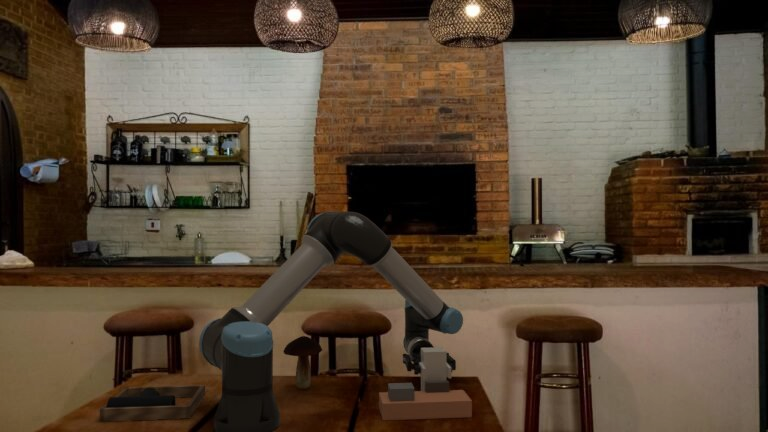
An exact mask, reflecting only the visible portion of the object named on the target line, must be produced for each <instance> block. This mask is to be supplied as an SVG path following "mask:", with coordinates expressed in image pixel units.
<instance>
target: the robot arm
mask: <svg viewBox="0 0 768 432" xmlns="http://www.w3.org/2000/svg"><path fill="white" fill-rule="evenodd" d="M306 230H307V231H306V233H304V235H303V236H302V238H301V245H300V246H299V247H298V248H297V249H296V250H295V251H294V252H293V253H292V254H291V255H290V256H289V258H288V259H286V261H284V262H283V264H282V265H281V266H279V268H278V269H276V270H275V271H274V273H273V274H272V275H271V276H270V277H269V278H268V279H267V280H266V281H265V282H264V283H262V285H261V286H260V287H259V288H258V289H257V290H256V291H255V292H254V293H253V294H252V295H251V296H250V297H249V298H248V299H247V300H246V301H245V302H244V303H243V304H242V305H240V306H233V307H231V308H230V309H229V310H228V311H227V312H226V313H225V314H224V315H223V316H222V317H221V318H216V319H214V320H211V321H210V322H208V323H207V324H206V325H205V327H204V328H203V329H202V331H201V333H200V335H199V341H198V345H199V350H200V351H199V352H200V354H201V355H202V357H203V358H204V360H205V361H206V362H207V363H208V364H210V365H211V366H213V367H215V368H217V369H219V370H220V371H221V396H220V398H219V402H218V405H217V409H216V411H215V415H214V419H213V429H214V432H272V431H274V430H276V429H277V428H278V427H279V426H280V425H281V411H280V410H279V405H278V404H277V400H276V397H275V394H274V390H273V384H274V383H273V382H274V379H273V377H274V375H273V373H274V371H273V369H274V362H273V361H274V359H273V358H274V338H273V331H272V329H271V328H270V327H269V326H270V325H271V323H273V321H274V320H275V319H276V318H277V317H278V316H279V315H280V314H281V313H282V311H283V310H284V309H285V308H286V307H287V306H288V305H289V304H290V303H291V302H292V301H293V300H294V299H295V298H296V297H297V296H298V294H299V293H300V292H301V291H303V289H304V288H305V287H307V285H308V284H309V283H310V282H311V281H312V279H314V278H315V277H316V275H317V274H318V273H320V271H321V270H322V269H323V268H324V267H326V266H328V267H329V266H333V265H334V264H335V263H336V262H337V261H338V259H340V257H342V255H344V254H345V255H351V256H353V257H355V258H357V259H359V260H360V261H362V263H364V264H365V266H368V267H371V266H372V267H373V268H374V269H375V270H376V272H378V273H379V274H380V275H381V277H382V278H384V279H385V280H386V281H387V282H388V283H389V284H390V285H391V287H392V288H394V289H395V291H396V292H398V293H399V294H400V295H401V297H403V299H405V301H404V309H403V310H404V325H405V326H404V327H405V328H404V337H403V340H402V341H403V348H404V351H405V352H406V353H403V354H402V363H403V364H404V365H405V367H406V370H407V372H412V371H413V372H414V373H413V374H414V375H416V376H417V375H420V378H421V377H422V378H423V379H426V368H425V367H424V365H423V364H422V362H421V348H434V345H433V344H432V343H431V341H429V339H430V333H429V331H430V330H431V331H434V332H439V333H442V334H448V335H449V334H450V335H455V334H458V333H459V331H460V330H461V329H462V327H463V324H464V316H463V314H462V312H461V311H460V310H458V309H456V308H454V307H449V306H448V304H447V303H445V302H444V301H443V299H441V297H440V296H439V295H438V294H437V293H436V292H435V291H434V290H433V289H432V288H431V287H430V285H428V284H427V282H425V280H423V278H422V277H421V276H420V275H419V274H418V273H417V272H416V271H415V270H414V268H412V267H411V266H410V264H409V263H408V262H407V261H406V260H405V259H404V258H403V257H402V256H401V255H400V254H399V253H398V251H397V250H395V248H393V242H392V240H391V239H390V238H389V237H388V235H386V233H385V232H384V231H383V230H382V229H381V228H379V226H377V224H376V223H374V222H373V221H372V220H370V218H369V217H367V216H365V215H363V214H361V213H360V212H355V211H326V212H322V213H319V214H317V215H316V216H314V217H313V218H312V219H311V221H310V222H309V224H308V226H307V228H306ZM456 363H457V362H456V359H455V358H453V357H452V356H451V355H450V353H449V352H446V378H448V379H452V373H453V371H456V369H457V364H456Z"/></svg>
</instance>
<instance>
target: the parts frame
mask: <svg viewBox="0 0 768 432" xmlns="http://www.w3.org/2000/svg"><path fill="white" fill-rule="evenodd" d="M144 387H145V386H132V387H127V386H126V387H124V388H122V390H121V391H119V392H118V393H117V394H116V395H114V397H134V396H138V395H139V394H140V393H141V390H142V389H143V388H144ZM154 387H160V393H161V396H165V395H174V396H175V399H181V398H180V397H192V398H191V399H190V400H189V401H188V403H187V404H186V405H185V404H182V405H180V404H179V405H175V406H148V407H118V408H106V407H107V403H106V404H104V405H103V406H102V407H100V409H99V423H105V422H107V423H109V421H113V422H129V421H128V420H141V421H159V420H158V419H169V420H179V419H178V418H189V417H191V418H192V416H193V415H194V413H195V412H196V410H197V409H198V407H199V406H200V404H201V403H202V401H203V400H204V398H205V397H206V384H198V385H197V384H196V385H195V384H193V385H191V384H190V385H189V384H188V385H164V386H163V385H159V386H154ZM204 396H205V397H204ZM203 397H204V398H203ZM202 399H203V400H202ZM201 400H202V401H201ZM200 402H201V403H200ZM199 403H200V404H199ZM198 405H199V406H198ZM197 406H198V407H197ZM196 408H197V409H196ZM195 409H196V410H195ZM194 411H195V412H194ZM193 412H194V413H193ZM192 414H193V415H192ZM191 415H192V416H191Z"/></svg>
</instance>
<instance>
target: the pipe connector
mask: <svg viewBox="0 0 768 432" xmlns="http://www.w3.org/2000/svg"><path fill="white" fill-rule="evenodd" d="M143 387H144V388H143V389H142V390H141V393H140V394H139V395H138V396H134V397H115V396H110V397H109V398H108V400H107V402H106V404H107V407H106V408H118V407H148V406H177V405H176V398H175V396H174V395H165V396H161V393H160V387H155V386H143Z"/></svg>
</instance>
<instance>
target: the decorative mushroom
mask: <svg viewBox="0 0 768 432" xmlns="http://www.w3.org/2000/svg"><path fill="white" fill-rule="evenodd" d="M322 351H323V348H322V346H321V345H320V343H319V342H318V341H316V340H315V339H313V338H311V337H309V336H305V335H303V336H302V335H301V336H299V337H297V338H295V339H293V340H292V341H290V342H289V343H287V344H286V346H285V348H284V349H283V351H282V352H283V354H284V355H287V356H292V357H297V364H296V370H295V384H296V385H295V386H296V387H297V388H298V389H300V390H306V389H308V388H309V387H310V386H311V383H312V381H311V379H312V375H311V372H312V371H311V363H310V357H311V356H316V355H318V354H320V353H321V352H322Z"/></svg>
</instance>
